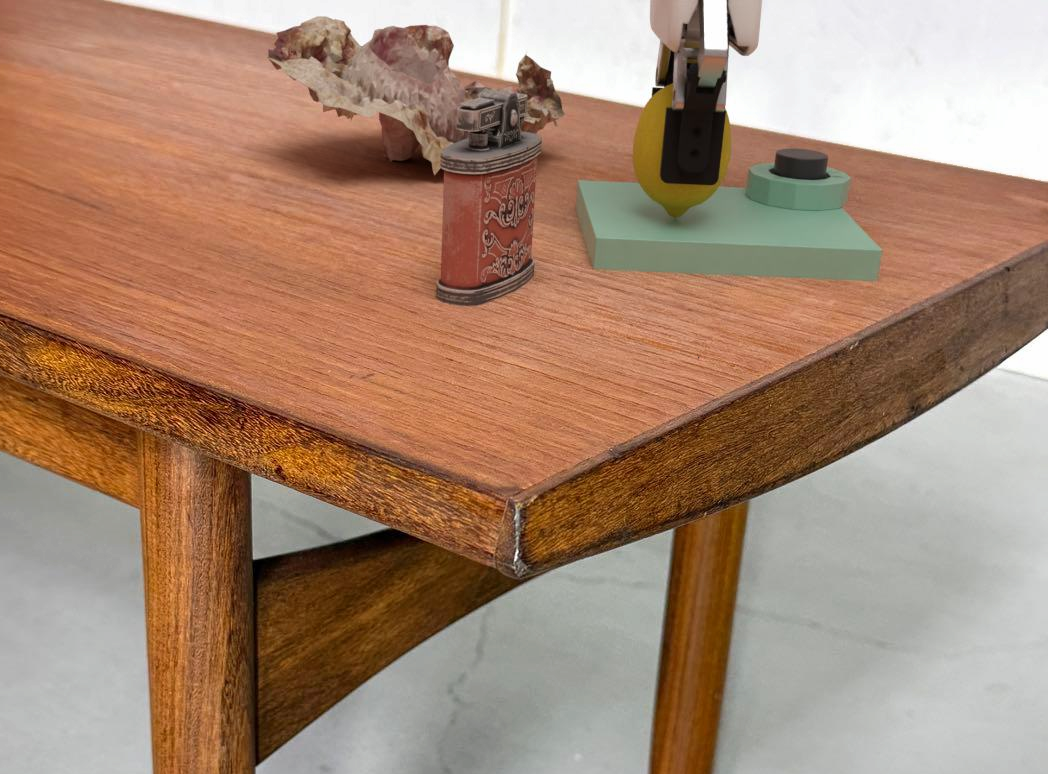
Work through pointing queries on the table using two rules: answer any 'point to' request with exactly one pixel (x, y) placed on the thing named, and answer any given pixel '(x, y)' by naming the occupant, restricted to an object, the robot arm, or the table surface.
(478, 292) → the lighter
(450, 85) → the mineral formation
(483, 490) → the table surface
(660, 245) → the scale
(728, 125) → the lemon
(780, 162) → the power button
